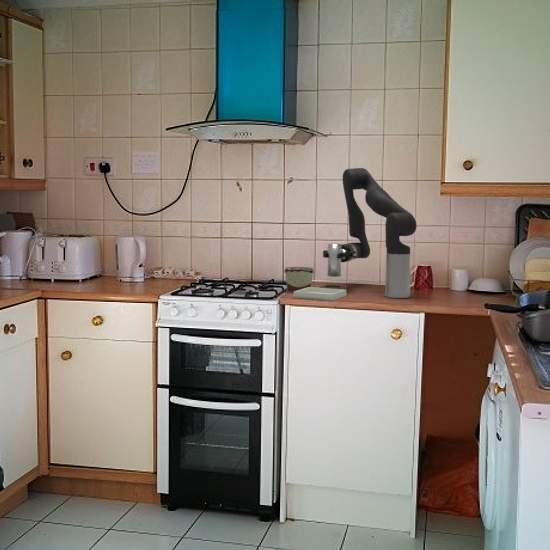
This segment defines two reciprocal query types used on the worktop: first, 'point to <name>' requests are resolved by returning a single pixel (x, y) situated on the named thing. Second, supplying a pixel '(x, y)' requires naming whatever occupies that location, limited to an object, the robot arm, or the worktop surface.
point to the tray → (320, 293)
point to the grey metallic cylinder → (334, 260)
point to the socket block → (334, 287)
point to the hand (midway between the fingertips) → (332, 255)
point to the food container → (298, 278)
